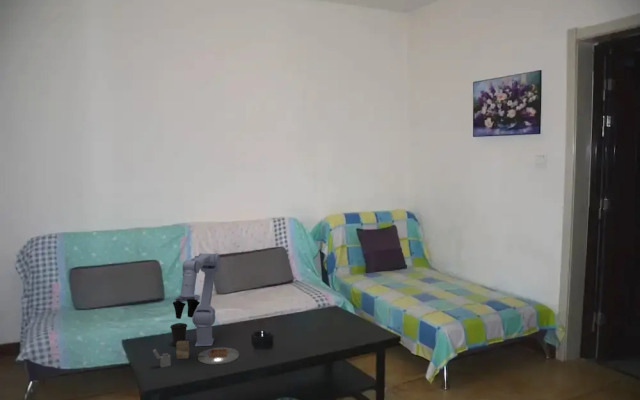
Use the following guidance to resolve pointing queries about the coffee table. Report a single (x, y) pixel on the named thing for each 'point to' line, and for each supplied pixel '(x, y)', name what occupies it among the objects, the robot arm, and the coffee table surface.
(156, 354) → the lighter
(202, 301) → the robot arm
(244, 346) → the coffee table surface
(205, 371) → the coffee table surface
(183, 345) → the wood grain block
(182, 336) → the coffee cup
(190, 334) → the coffee table surface
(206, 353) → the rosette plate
